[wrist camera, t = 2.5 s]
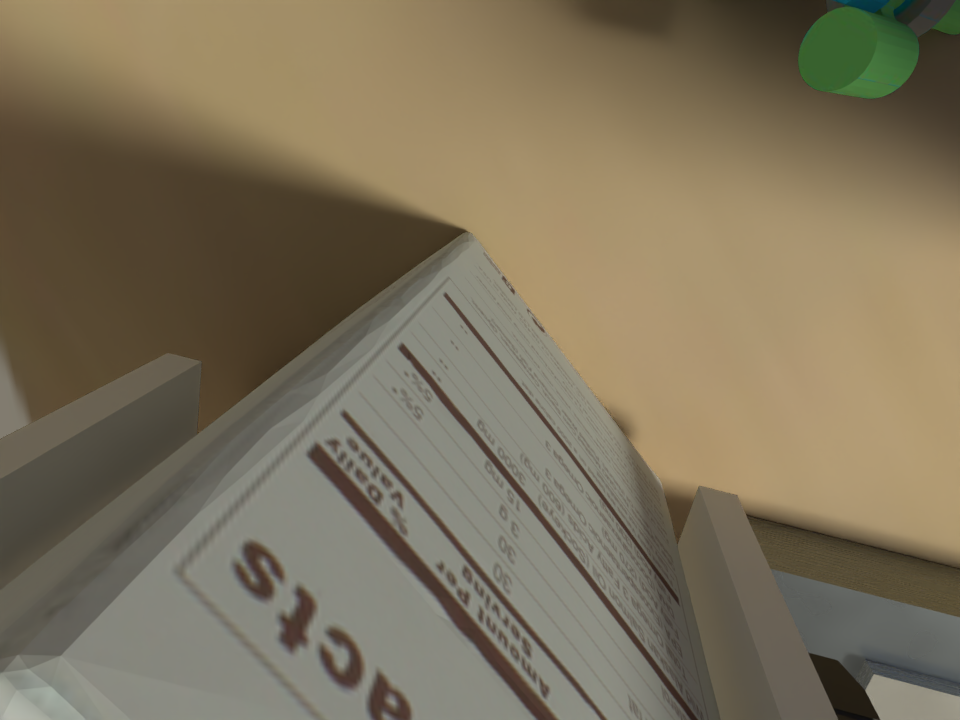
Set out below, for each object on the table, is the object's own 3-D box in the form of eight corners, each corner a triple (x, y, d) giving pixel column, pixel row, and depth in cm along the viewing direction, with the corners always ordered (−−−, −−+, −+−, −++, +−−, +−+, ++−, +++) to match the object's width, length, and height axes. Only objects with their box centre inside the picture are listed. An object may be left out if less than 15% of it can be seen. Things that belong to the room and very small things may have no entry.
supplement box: (425, 617, 17) (92, 1661, 5) (239, 399, 16) (-727, 1134, 4) (672, 482, 15) (1018, 1733, 3) (479, 216, 14) (-118, 670, 2)
